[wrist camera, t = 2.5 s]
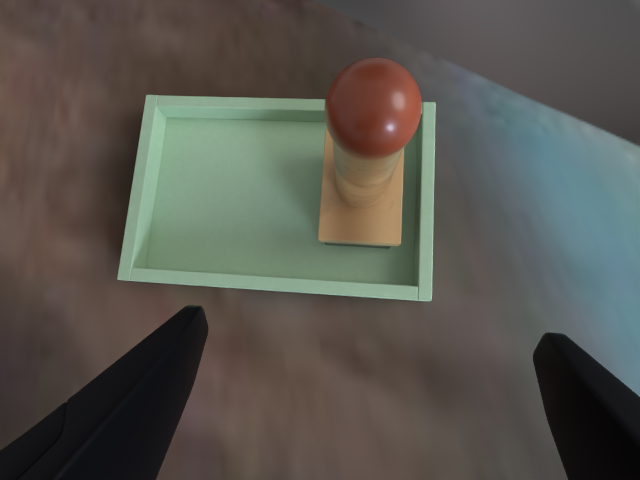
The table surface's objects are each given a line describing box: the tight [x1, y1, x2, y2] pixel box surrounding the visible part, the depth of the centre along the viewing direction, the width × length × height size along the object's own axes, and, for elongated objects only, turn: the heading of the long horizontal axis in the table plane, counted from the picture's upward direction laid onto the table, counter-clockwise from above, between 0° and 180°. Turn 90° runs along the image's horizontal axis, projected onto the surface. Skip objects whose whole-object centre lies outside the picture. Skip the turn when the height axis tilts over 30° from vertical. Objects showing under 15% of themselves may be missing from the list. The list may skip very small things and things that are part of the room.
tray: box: [117, 95, 436, 301], centre depth 23 cm, size 19×12×2 cm, turn 86°
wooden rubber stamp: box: [318, 57, 422, 249], centre depth 17 cm, size 4×6×13 cm
